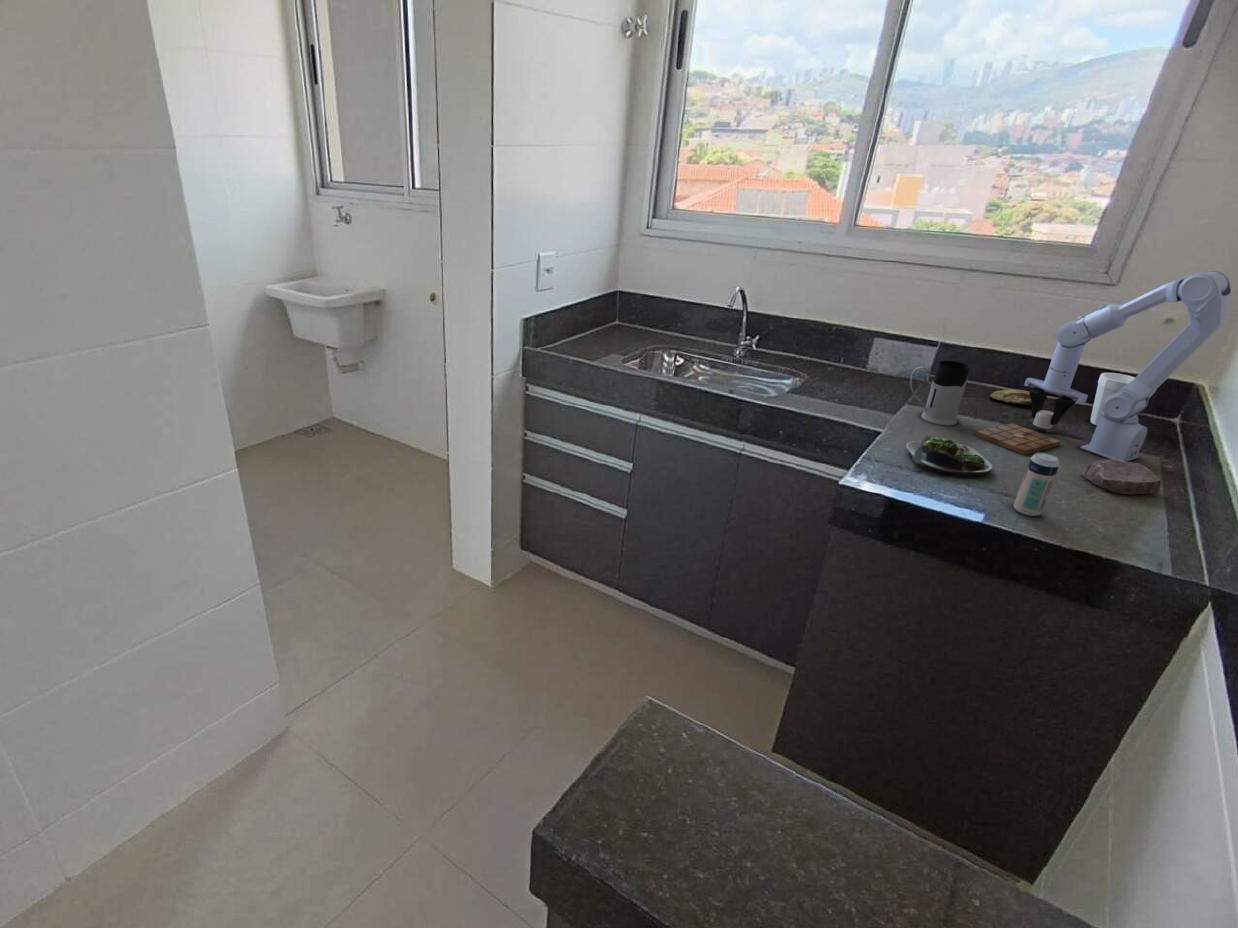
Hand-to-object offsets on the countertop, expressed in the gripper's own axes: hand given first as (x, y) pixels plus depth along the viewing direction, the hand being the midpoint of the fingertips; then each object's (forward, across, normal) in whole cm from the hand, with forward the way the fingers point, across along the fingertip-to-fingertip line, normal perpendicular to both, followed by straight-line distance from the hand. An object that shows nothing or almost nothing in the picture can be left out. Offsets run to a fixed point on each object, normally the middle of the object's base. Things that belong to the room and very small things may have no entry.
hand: (1044, 420), depth 170 cm
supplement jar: (+3, -25, +47) cm, 53 cm away
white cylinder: (+1, 0, 0) cm, 1 cm away
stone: (+3, -27, +16) cm, 31 cm away
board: (+3, -1, +12) cm, 13 cm away
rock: (+3, +17, -16) cm, 24 cm away
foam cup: (+3, -4, -23) cm, 24 cm away
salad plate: (+3, -3, +42) cm, 42 cm away
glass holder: (+3, +18, +21) cm, 28 cm away
